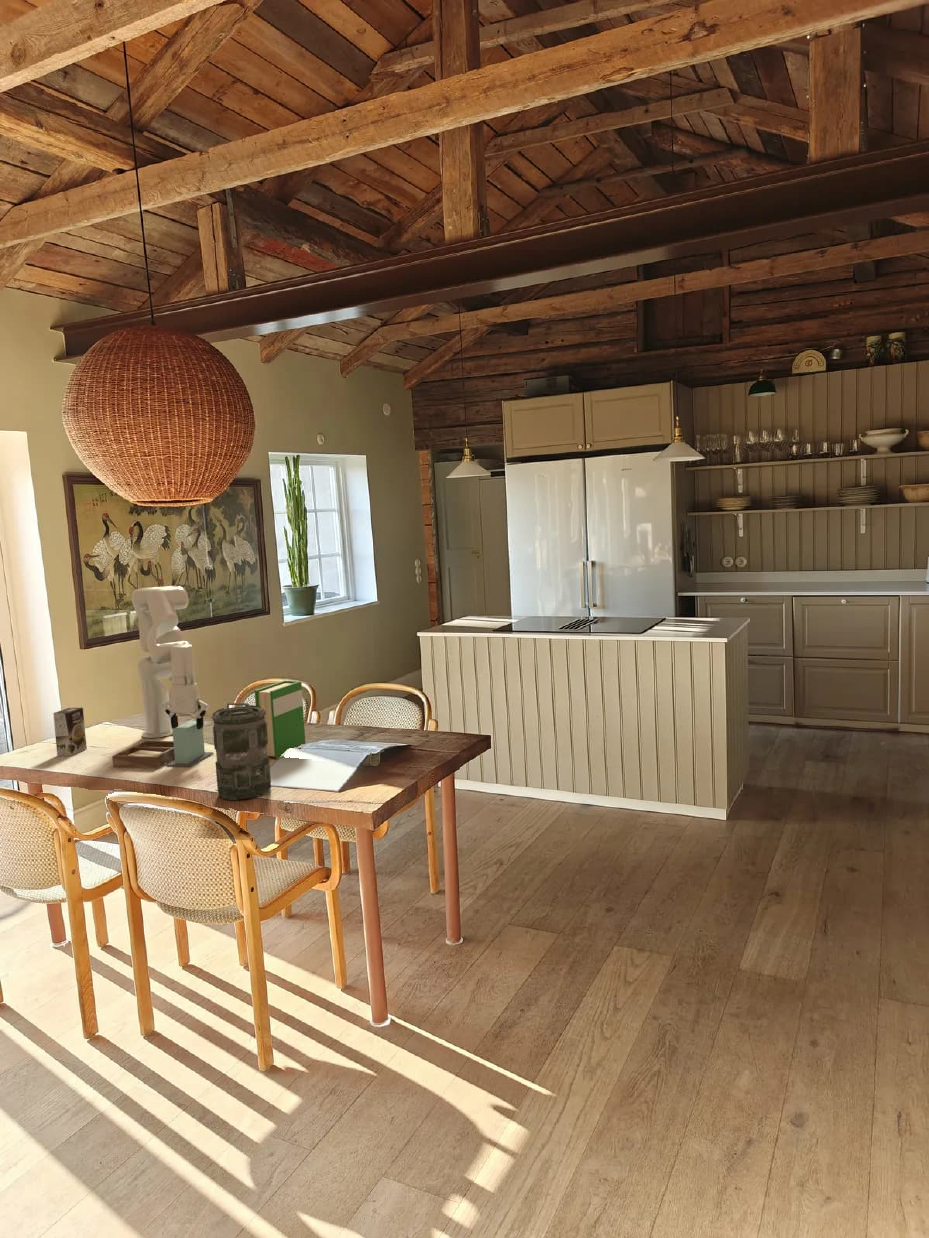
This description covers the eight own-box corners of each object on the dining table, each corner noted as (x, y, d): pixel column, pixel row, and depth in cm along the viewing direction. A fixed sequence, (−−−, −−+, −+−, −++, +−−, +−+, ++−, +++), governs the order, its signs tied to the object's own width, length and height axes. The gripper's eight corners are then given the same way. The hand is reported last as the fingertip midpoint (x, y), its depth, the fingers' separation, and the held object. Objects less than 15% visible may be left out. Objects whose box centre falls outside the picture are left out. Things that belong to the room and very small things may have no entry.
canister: (279, 785, 270) (273, 697, 267) (257, 802, 255) (250, 709, 252) (233, 784, 274) (226, 697, 270) (208, 800, 258) (201, 708, 255)
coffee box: (72, 756, 316) (67, 712, 314) (56, 755, 317) (52, 712, 315) (87, 749, 325) (83, 707, 323) (72, 748, 326) (68, 706, 324)
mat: (191, 753, 312) (190, 751, 312) (213, 753, 310) (213, 752, 310) (166, 766, 297) (166, 764, 297) (190, 767, 295) (190, 765, 295)
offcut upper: (141, 755, 307) (140, 750, 307) (163, 757, 303) (162, 752, 303) (128, 760, 302) (128, 754, 302) (150, 762, 298) (150, 756, 298)
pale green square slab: (175, 763, 298) (172, 729, 297) (193, 753, 310) (190, 720, 308) (187, 763, 297) (184, 729, 296) (204, 753, 309) (202, 720, 307)
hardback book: (277, 759, 300) (272, 691, 297) (259, 757, 303) (254, 690, 300) (305, 745, 316) (301, 681, 313) (288, 744, 319) (284, 680, 316)
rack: (146, 751, 318) (145, 740, 318) (188, 752, 314) (187, 741, 314) (113, 767, 299) (111, 756, 298) (157, 768, 295) (156, 757, 294)
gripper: (155, 682, 298) (159, 730, 301) (200, 682, 295) (204, 731, 297) (167, 677, 306) (171, 724, 308) (211, 678, 302) (215, 725, 304)
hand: (187, 728), depth 303 cm, fingers open, 9 cm apart
